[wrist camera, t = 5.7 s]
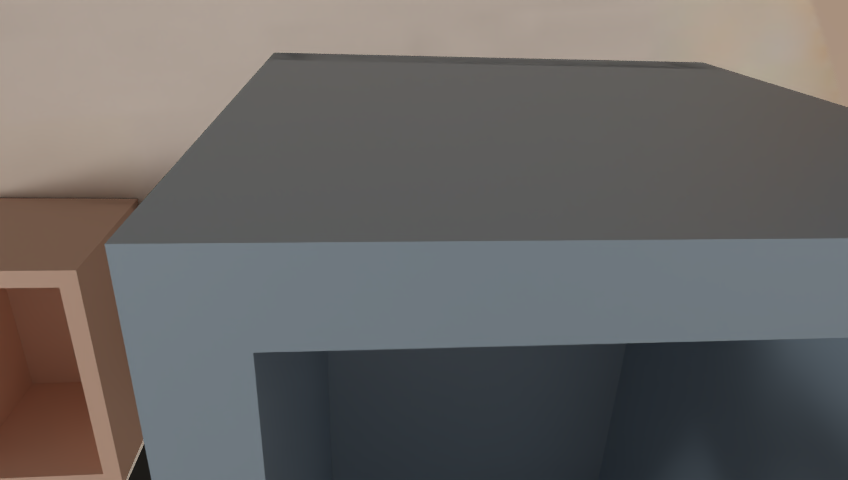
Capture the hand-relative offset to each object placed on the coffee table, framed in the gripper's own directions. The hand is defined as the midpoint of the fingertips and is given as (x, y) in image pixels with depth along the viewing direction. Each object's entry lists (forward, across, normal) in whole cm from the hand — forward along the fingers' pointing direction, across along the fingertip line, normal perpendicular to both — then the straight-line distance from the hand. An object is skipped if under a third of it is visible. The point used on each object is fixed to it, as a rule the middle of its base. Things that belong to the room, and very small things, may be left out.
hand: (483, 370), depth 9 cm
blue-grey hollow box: (+1, 0, 0) cm, 1 cm away
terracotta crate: (+16, +14, +8) cm, 22 cm away
